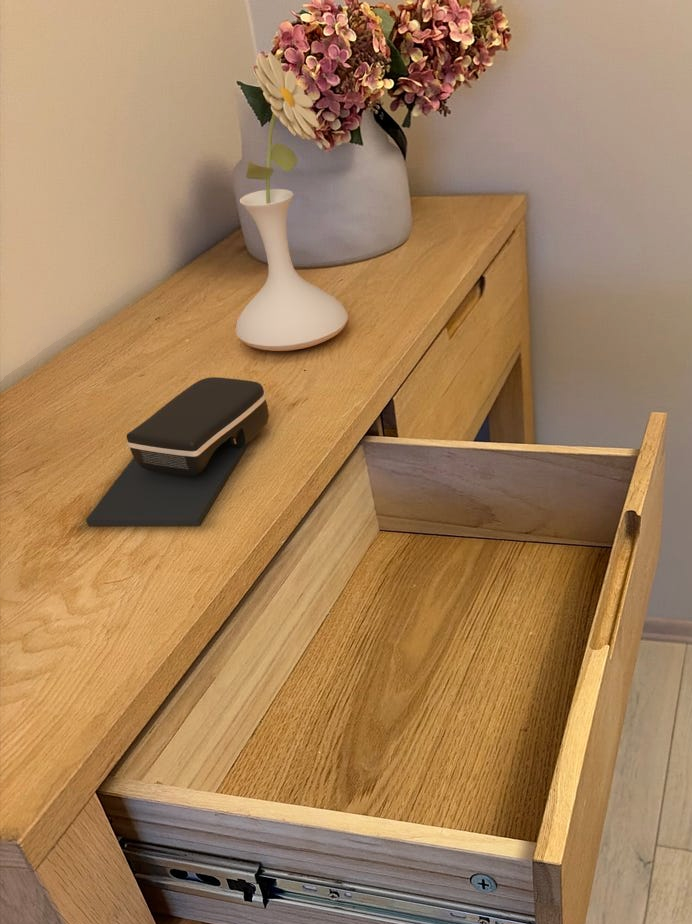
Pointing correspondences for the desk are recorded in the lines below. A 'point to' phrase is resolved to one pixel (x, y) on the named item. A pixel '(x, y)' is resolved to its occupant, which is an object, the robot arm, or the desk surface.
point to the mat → (165, 494)
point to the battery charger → (199, 425)
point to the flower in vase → (284, 235)
